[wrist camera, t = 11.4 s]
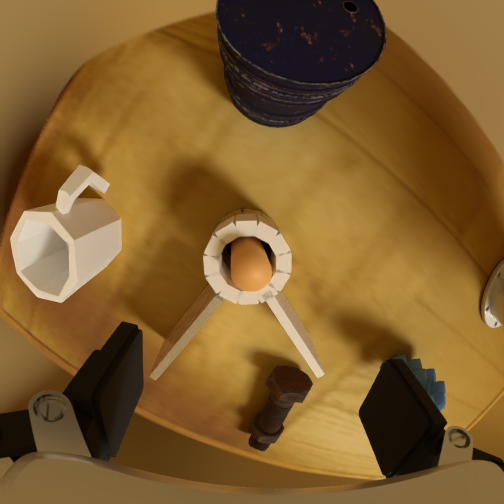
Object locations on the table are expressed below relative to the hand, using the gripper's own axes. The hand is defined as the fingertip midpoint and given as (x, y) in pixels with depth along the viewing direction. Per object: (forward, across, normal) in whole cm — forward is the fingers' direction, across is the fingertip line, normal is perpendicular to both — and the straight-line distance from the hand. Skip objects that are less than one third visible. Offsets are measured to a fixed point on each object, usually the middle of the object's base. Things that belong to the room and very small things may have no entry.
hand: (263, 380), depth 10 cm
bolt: (+21, -7, +22) cm, 32 cm away
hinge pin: (+21, +1, 0) cm, 21 cm away
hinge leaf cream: (+21, -3, +4) cm, 21 cm away
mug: (+21, +18, 0) cm, 27 cm away
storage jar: (+21, +1, -17) cm, 27 cm away
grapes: (+21, -23, +14) cm, 34 cm away
